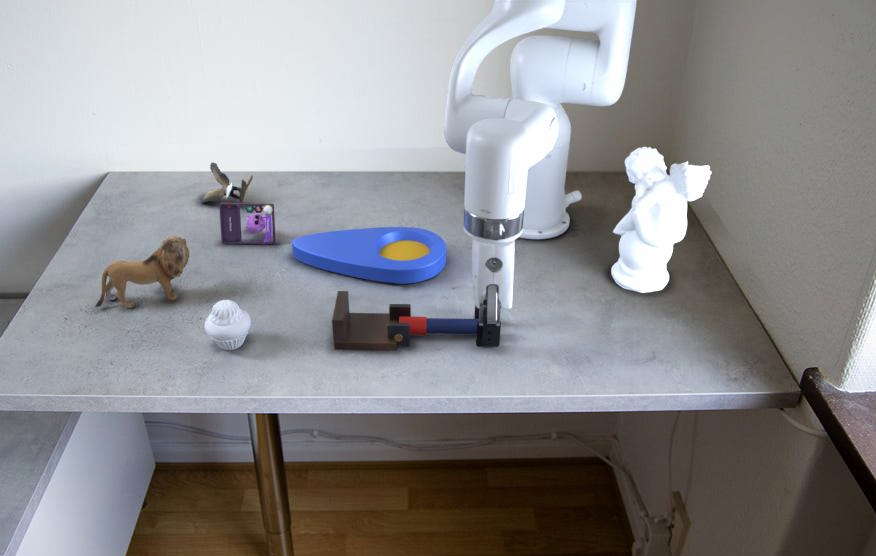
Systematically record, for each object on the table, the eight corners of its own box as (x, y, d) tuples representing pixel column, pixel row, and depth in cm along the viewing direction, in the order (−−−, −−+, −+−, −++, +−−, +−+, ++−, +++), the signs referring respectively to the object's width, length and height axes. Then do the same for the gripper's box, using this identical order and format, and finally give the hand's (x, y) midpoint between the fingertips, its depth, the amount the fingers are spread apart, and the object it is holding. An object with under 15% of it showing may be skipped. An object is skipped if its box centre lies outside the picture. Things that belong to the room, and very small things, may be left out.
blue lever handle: (495, 328, 109) (496, 313, 107) (496, 340, 106) (497, 324, 105) (400, 327, 109) (399, 312, 107) (399, 339, 107) (398, 323, 105)
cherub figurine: (598, 263, 123) (618, 133, 110) (668, 252, 126) (696, 124, 113) (634, 305, 113) (661, 168, 101) (709, 293, 116) (744, 158, 103)
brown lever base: (411, 320, 111) (410, 291, 108) (409, 350, 105) (409, 321, 102) (339, 319, 111) (337, 290, 108) (334, 349, 105) (331, 320, 102)
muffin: (204, 336, 108) (196, 295, 104) (247, 325, 110) (241, 285, 106) (213, 362, 103) (205, 320, 99) (258, 350, 105) (252, 308, 101)
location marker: (282, 278, 120) (440, 288, 117) (279, 259, 118) (440, 269, 115) (305, 236, 131) (451, 244, 127) (303, 218, 129) (451, 226, 125)
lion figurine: (192, 277, 120) (182, 226, 115) (200, 294, 116) (190, 243, 111) (94, 301, 115) (78, 249, 110) (98, 319, 111) (82, 267, 106)
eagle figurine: (258, 186, 143) (215, 171, 145) (249, 166, 136) (204, 151, 138) (240, 221, 141) (196, 206, 142) (230, 203, 134) (184, 187, 135)
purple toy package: (217, 203, 126) (272, 204, 126) (226, 199, 131) (279, 200, 131) (220, 244, 128) (274, 245, 127) (228, 238, 133) (280, 239, 132)
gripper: (529, 254, 90) (518, 373, 101) (517, 188, 104) (509, 299, 114) (465, 253, 90) (460, 372, 101) (462, 187, 104) (458, 298, 114)
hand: (486, 332), depth 107 cm, fingers open, 4 cm apart
